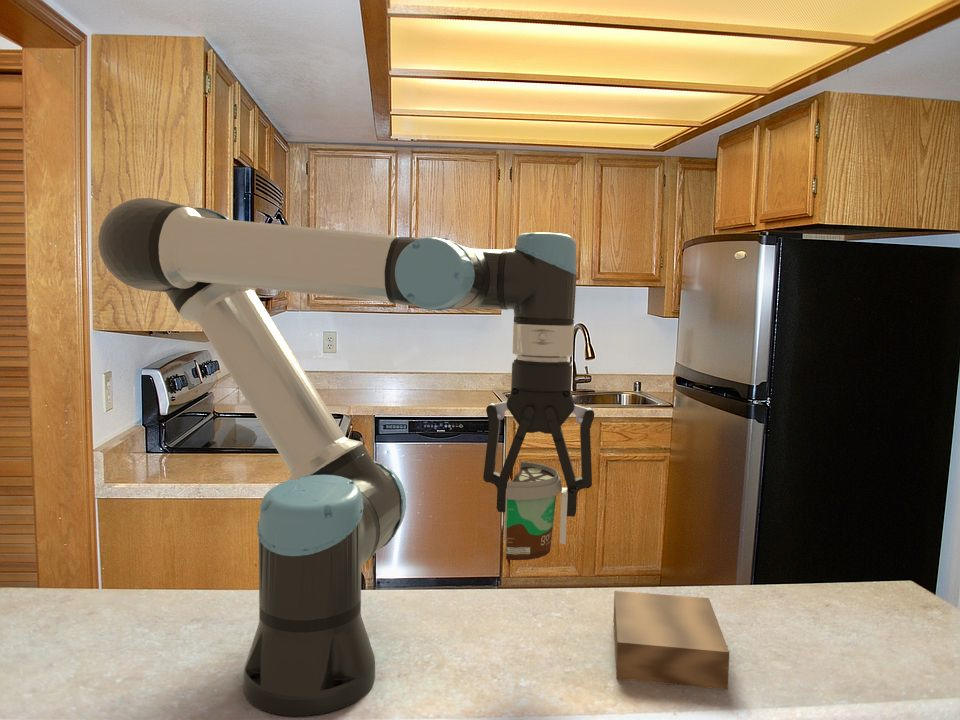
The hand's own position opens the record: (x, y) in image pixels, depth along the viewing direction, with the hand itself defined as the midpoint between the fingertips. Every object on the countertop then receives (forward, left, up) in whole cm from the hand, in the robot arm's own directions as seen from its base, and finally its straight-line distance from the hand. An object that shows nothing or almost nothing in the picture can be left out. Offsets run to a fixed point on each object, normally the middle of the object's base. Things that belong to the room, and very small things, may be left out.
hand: (535, 538), depth 94 cm
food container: (0, 0, -2) cm, 2 cm away
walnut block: (+17, +3, -16) cm, 24 cm away
